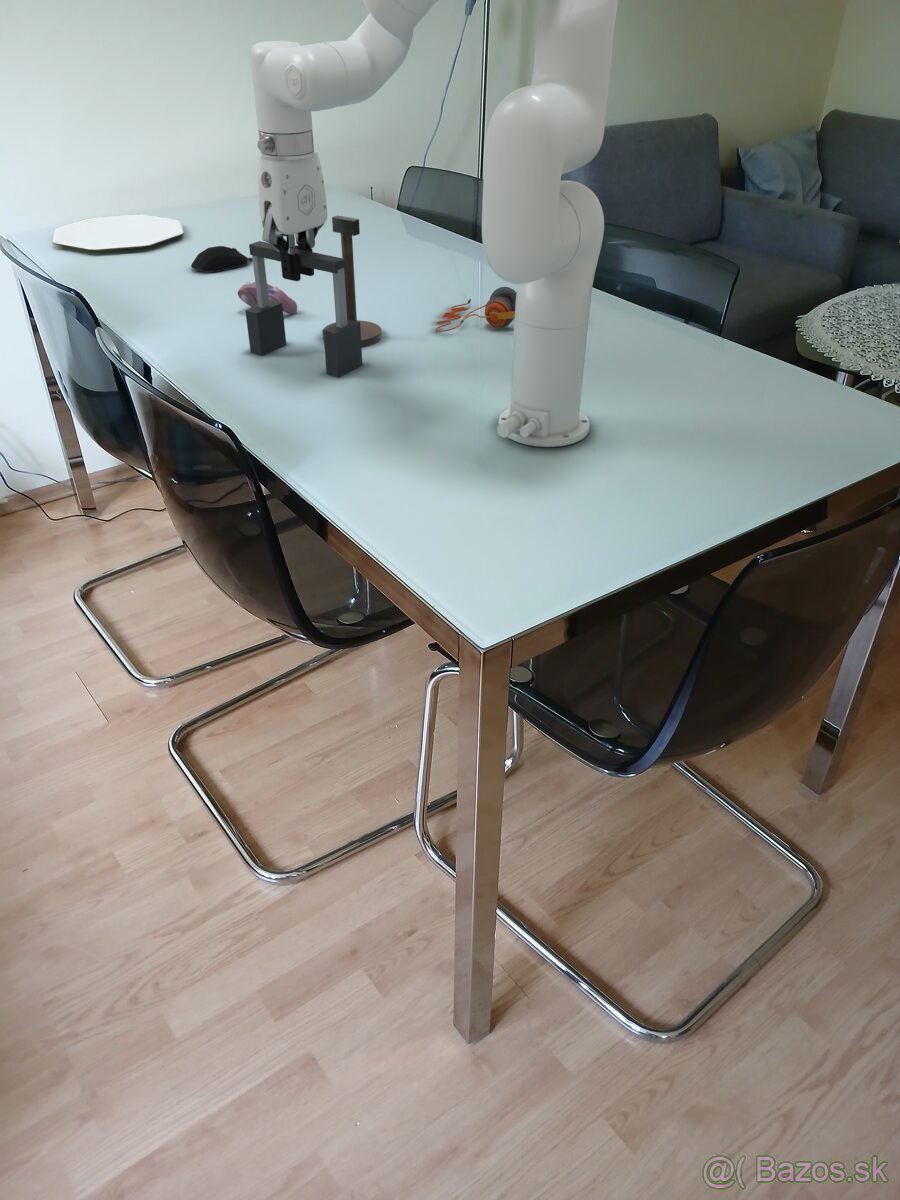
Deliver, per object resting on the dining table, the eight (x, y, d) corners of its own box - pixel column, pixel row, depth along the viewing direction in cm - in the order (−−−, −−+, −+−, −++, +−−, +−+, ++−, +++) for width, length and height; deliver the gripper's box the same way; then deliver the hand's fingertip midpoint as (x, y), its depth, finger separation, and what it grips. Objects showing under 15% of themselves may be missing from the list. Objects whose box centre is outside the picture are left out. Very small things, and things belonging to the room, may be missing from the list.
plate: (57, 226, 212) (55, 219, 211) (178, 218, 218) (177, 211, 218) (52, 259, 191) (51, 252, 190) (187, 249, 197) (186, 241, 196)
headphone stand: (357, 352, 149) (350, 229, 138) (310, 339, 154) (300, 220, 142) (393, 334, 156) (389, 216, 145) (347, 323, 160) (340, 207, 149)
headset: (338, 377, 141) (331, 266, 131) (250, 352, 149) (236, 246, 139) (362, 365, 145) (357, 256, 135) (275, 341, 153) (263, 237, 143)
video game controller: (245, 318, 167) (229, 288, 161) (257, 300, 168) (242, 270, 162) (289, 327, 163) (274, 297, 157) (301, 309, 165) (287, 278, 159)
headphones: (433, 348, 158) (547, 330, 152) (426, 318, 155) (541, 299, 149) (452, 316, 171) (557, 299, 165) (446, 288, 168) (553, 270, 162)
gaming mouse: (266, 263, 189) (264, 243, 187) (200, 275, 182) (196, 255, 180) (252, 256, 193) (250, 236, 191) (187, 268, 186) (183, 247, 184)
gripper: (267, 156, 121) (281, 295, 132) (343, 138, 132) (350, 268, 143) (226, 150, 124) (243, 286, 135) (303, 133, 135) (313, 260, 146)
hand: (298, 275), depth 139 cm, fingers closed on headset, 2 cm apart
